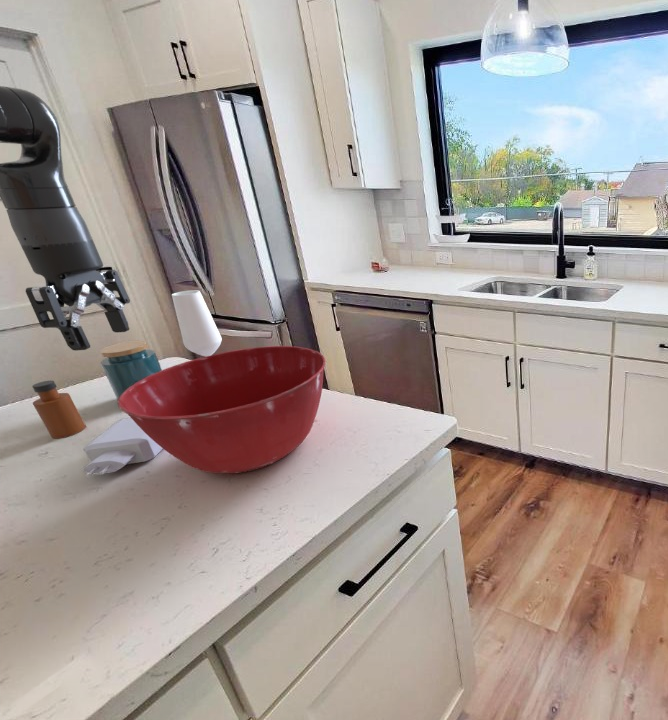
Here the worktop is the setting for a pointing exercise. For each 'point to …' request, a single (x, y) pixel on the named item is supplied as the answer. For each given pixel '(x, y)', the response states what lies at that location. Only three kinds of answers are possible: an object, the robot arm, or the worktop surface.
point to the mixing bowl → (230, 406)
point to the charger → (119, 448)
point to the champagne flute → (196, 323)
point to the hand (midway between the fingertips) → (102, 340)
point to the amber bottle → (57, 411)
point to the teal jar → (128, 364)
